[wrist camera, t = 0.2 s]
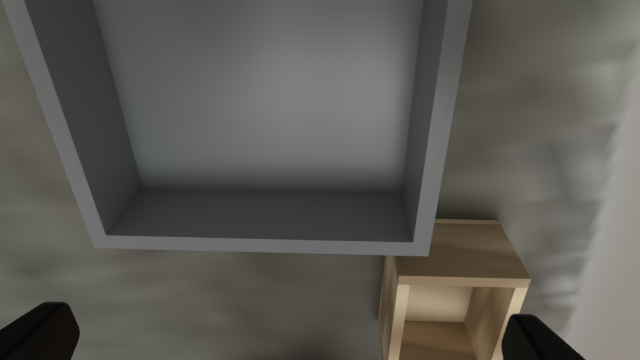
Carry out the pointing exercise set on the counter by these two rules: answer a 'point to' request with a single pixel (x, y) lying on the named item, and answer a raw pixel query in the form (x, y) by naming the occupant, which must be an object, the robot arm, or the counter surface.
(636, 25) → the counter surface
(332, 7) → the charcoal crate
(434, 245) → the birch crate
